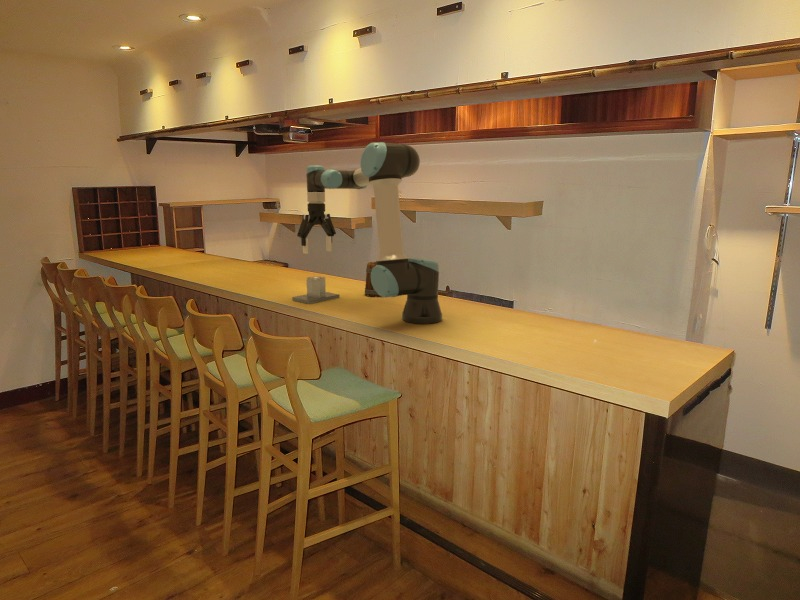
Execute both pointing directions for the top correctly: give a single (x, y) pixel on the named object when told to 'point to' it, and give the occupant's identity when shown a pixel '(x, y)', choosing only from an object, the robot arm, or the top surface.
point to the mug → (369, 288)
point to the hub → (316, 287)
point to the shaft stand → (314, 300)
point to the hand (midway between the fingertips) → (317, 252)
